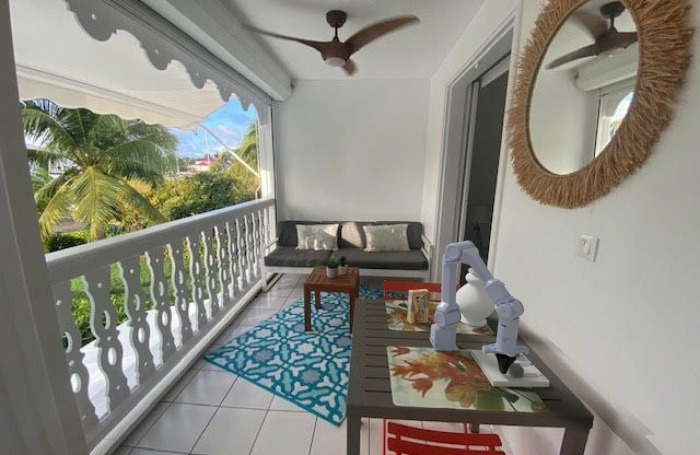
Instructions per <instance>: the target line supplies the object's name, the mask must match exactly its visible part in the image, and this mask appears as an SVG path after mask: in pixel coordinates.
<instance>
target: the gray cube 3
mask: <svg viewBox="0 0 700 455" xmlns="http://www.w3.org/2000/svg"><path fill="white" fill-rule="evenodd" d="M509 372H510V373H511V374H512V375H513V377H523V373H524V369H523V368H522V366H521V365H520V364H519V363H512V364H511V366H510V367H509Z"/></svg>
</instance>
